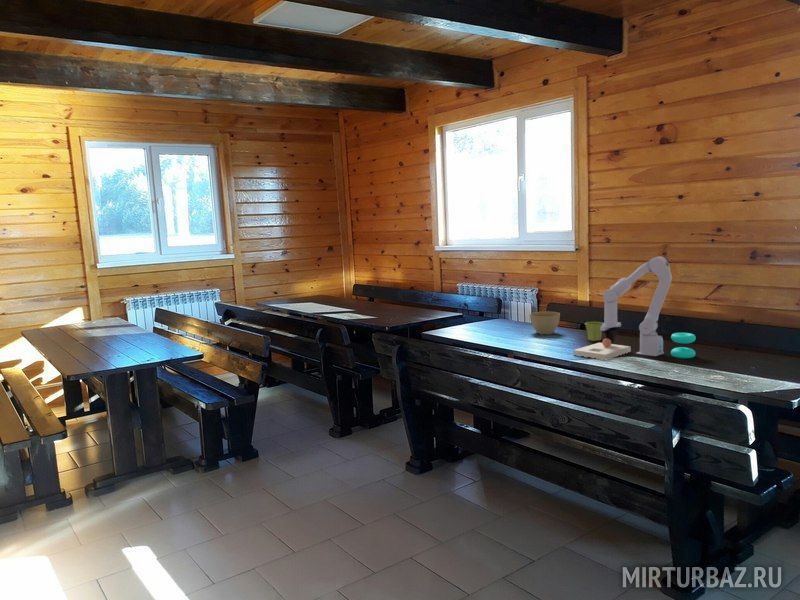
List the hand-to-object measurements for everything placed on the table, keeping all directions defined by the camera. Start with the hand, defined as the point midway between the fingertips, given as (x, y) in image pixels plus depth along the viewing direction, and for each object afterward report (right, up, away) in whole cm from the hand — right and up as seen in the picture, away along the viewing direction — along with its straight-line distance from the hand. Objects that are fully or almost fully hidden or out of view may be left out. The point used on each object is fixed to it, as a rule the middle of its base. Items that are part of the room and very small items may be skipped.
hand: (610, 343), depth 295 cm
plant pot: (+1, 0, +28) cm, 28 cm away
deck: (-5, -4, -4) cm, 8 cm away
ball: (-3, +1, -2) cm, 4 cm away
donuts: (+26, -5, -16) cm, 31 cm away
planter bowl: (-19, +2, +51) cm, 55 cm away
